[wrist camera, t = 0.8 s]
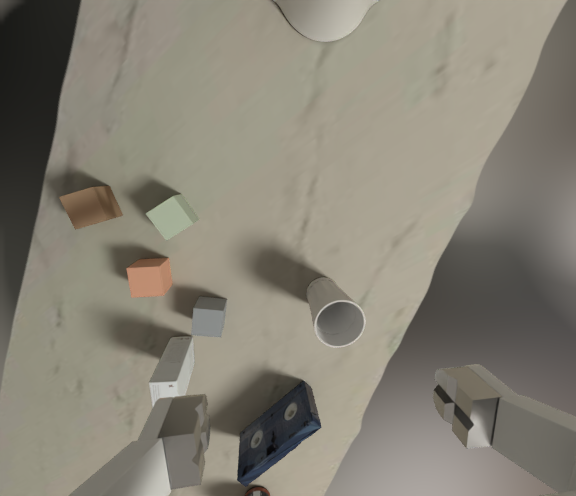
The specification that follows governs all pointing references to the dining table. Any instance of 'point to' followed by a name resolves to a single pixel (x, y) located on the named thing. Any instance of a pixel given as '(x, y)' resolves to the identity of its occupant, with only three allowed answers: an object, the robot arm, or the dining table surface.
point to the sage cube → (172, 216)
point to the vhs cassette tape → (277, 433)
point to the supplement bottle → (258, 492)
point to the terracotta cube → (149, 277)
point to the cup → (334, 314)
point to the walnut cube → (91, 206)
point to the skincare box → (173, 369)
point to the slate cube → (209, 316)
